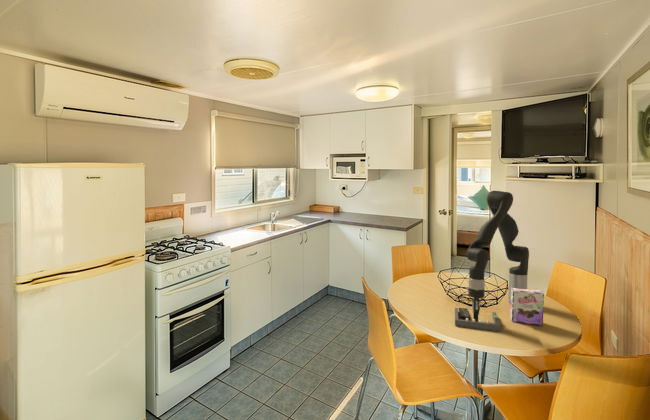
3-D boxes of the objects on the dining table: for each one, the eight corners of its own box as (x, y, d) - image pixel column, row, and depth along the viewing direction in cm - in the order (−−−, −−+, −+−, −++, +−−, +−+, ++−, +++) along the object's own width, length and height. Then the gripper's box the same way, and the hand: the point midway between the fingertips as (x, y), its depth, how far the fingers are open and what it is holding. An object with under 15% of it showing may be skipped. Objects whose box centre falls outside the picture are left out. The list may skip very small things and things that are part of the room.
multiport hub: (460, 320, 173) (460, 316, 173) (458, 311, 187) (458, 307, 187) (470, 321, 172) (470, 317, 172) (467, 312, 186) (467, 308, 186)
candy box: (511, 322, 171) (512, 290, 170) (510, 318, 176) (510, 287, 176) (543, 325, 166) (544, 293, 165) (540, 321, 171) (541, 290, 170)
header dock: (454, 313, 183) (454, 305, 183) (495, 318, 176) (496, 310, 176) (454, 325, 165) (455, 317, 165) (500, 332, 158) (501, 323, 157)
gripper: (467, 283, 177) (467, 315, 178) (469, 289, 165) (468, 324, 166) (483, 284, 175) (482, 317, 175) (485, 291, 162) (485, 326, 163)
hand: (475, 320), depth 170 cm, fingers closed
